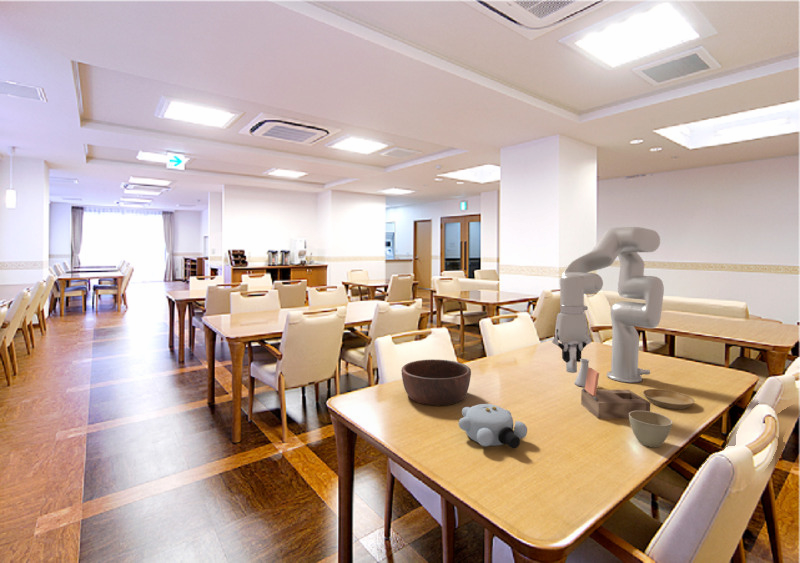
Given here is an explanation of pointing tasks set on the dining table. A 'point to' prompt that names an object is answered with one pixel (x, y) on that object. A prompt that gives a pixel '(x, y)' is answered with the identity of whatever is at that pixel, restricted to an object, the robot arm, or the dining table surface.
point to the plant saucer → (668, 398)
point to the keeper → (591, 381)
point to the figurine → (491, 426)
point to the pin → (572, 357)
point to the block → (613, 403)
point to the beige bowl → (650, 427)
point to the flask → (582, 373)
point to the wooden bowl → (436, 381)
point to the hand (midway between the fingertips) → (571, 360)
